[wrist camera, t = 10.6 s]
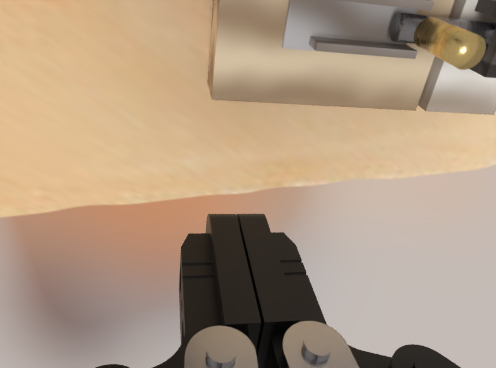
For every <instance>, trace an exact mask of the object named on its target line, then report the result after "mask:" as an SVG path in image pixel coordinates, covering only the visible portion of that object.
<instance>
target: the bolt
mask: <svg viewBox="0 0 496 368" xmlns="http://www.w3.org/2000/svg"><path fill="white" fill-rule="evenodd" d="M495 28H496V23H492V22H483V21H473V20H464V19H454V18H444V17H435V16H425V15H416V14H406V13H398V14H396V15H395V17H394V18H393V20H392V23H391V26H390V38H391V40H392V41H394V42H404V43H415V44H416V45H417V46H418V47H420V48H422V49H423V50H425V51H427V52H429V53H431V54H432V55H434V56H436V57H438V58H440V59H442V60H443V61H445V62H447V63H449V64H451V65H453V66H454V67H456V68H458V69H461V70H466V69H470V68H472V67H474V66H475V65H476V64H477V63H479V61H480V60H481V59H482V57H483V56H484V53H485V50H487V48H488V45H489V43H490V40H491V38H492V36H493V33H494V31H495Z"/></svg>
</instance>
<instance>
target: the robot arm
mask: <svg viewBox="0 0 496 368" xmlns="http://www.w3.org/2000/svg"><path fill="white" fill-rule="evenodd" d="M180 260H181V261H180V281H179V300H180V301H179V302H180V329H181V346H180V348H179V349H178V350H177V352H176V353H175V354H174V355H173V356H172V357H171V358H169V359H168V360H167V361H165V362H164V363H162V364H160V365H158V366H155V367H153V368H460V367H459V366H458V365H456V364H455V363H453V362H451V361H450V360H449V359H447V358H446V357H444V356H442V355H441V354H439V353H438V352H436V351H434V350H432V349H430V348H427V347H424V346H420V345H405V346H402V347H400V348H399V349H397V350H396V352H395V353H394V355H393V356H392V358H391V357H387V356H383V355H379V354H374V353H370V352H366V351H362V350H358V349H356V348H353V347H351V346H349V345H348V344H347V343H346V341H345V339H344V338H343V337H342V336H341V335H340V334H339V333H338V332H337V331H336V330H335V329H333V328H332V327H330V326H328V325H327V324H326V321H325V319H324V317H323V314H322V311H321V309H320V306H319V304H318V301H317V298H316V296H315V293H314V291H313V288H312V286H311V283H310V281H309V278H308V276H307V275H306V270H305V268H304V265H303V263H302V262H301V257H300V255H299V252H298V250H297V247H296V245H295V244H294V243H293V242H292V241H291V240H290V239H289V238H288V237H287V236H286V235H285V234H284V233H271V232H270V228H269V225H268V222H267V219H266V217H265V215H264V214H237V215H236V214H208V216H207V224H206V233H204V234H188V236H187V238H186V239H185V241H184V243H183V245H182V246H181V259H180ZM96 368H129V367H127V366H123V365H117V364H110V365H103V366H99V367H96Z"/></svg>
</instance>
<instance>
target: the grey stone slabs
mask: <svg viewBox="0 0 496 368" xmlns="http://www.w3.org/2000/svg"><path fill="white" fill-rule="evenodd" d="M398 13H406V14H416V15H425V16H435V17H444V18H454V19H464V20H473V21H483V22H492V23H496V0H213V14H212V28H211V42H210V56H209V70H208V86H209V90H210V94H211V98H212V100H228V101H246V102H265V103H284V104H302V105H321V106H339V107H358V108H377V109H395V110H414V111H416V108H417V105H419V106H420V107H421V108H422V109H424V110H425V111H433V112H451V113H470V114H489V115H494V113H495V111H496V28H495V31H494V33H493V36H492V38H491V40H490V43H489V45H488V48H487V50H485V53H484V56H483V57H482V59H481V60H480V61H479V63H477V64H476V65H475V66H474V67H472V68H470V69H466V70H461V69H458V68H456V67H454V66H453V65H451V64H449V63H447V62H445V61H443V60H442V59H440V58H438V57H436V56H434V55H432V54H431V53H429V52H427V51H425V50H423V49H422V48H420V47H418V46H417V45H416V44H415V43H404V42H394V41H392V40H391V38H390V26H391V23H392V20H393V18H394V17H395V15H396V14H398Z"/></svg>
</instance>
